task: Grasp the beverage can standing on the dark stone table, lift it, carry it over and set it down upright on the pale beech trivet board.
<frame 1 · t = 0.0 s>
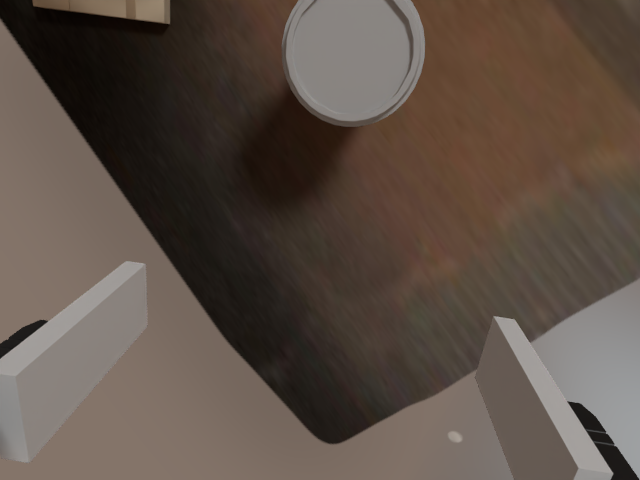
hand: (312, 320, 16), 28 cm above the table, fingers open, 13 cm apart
disposable coffee cup: (354, 60, 39), on the table
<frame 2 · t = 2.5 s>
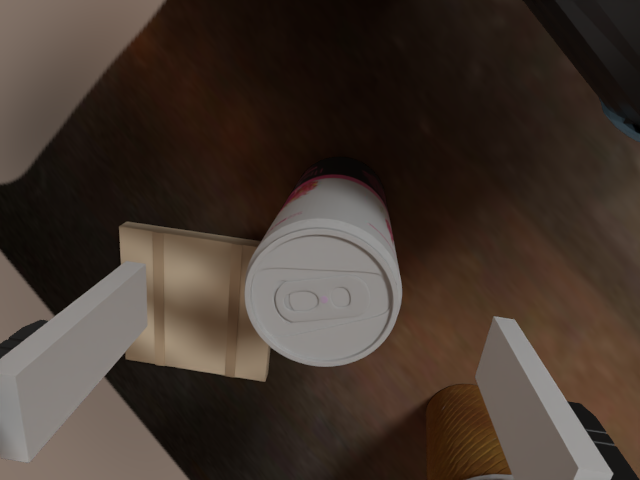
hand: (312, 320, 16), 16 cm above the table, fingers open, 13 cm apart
trivet: (201, 301, 35), on the table
disposable coffee cup: (462, 412, 37), on the table
beverage can: (339, 200, 31), on the table
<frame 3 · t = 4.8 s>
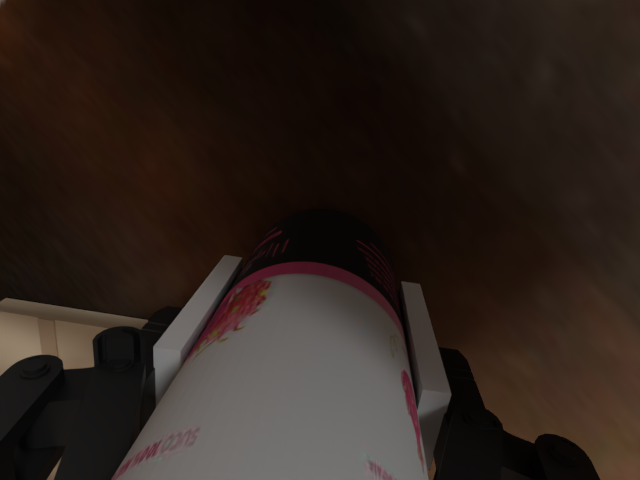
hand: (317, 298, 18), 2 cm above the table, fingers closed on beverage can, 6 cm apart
trivet: (123, 408, 24), on the table
beverage can: (322, 272, 20), on the table, touching gripper
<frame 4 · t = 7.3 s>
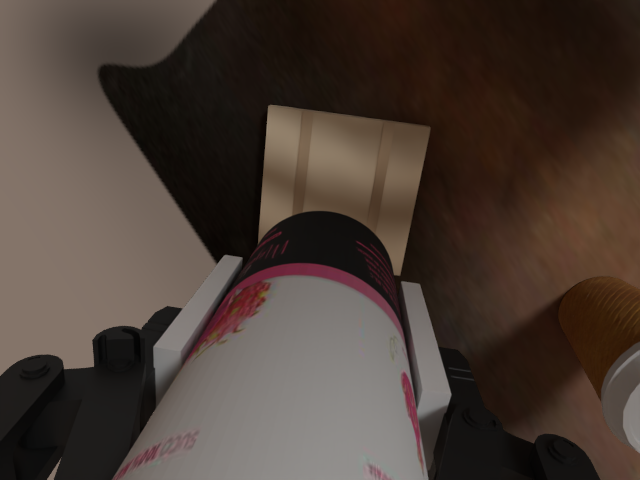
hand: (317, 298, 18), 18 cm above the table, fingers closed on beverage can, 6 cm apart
trivet: (338, 191, 35), on the table
disposable coffee cup: (595, 308, 37), on the table
beverage can: (322, 272, 20), point 16 cm above the table, touching gripper
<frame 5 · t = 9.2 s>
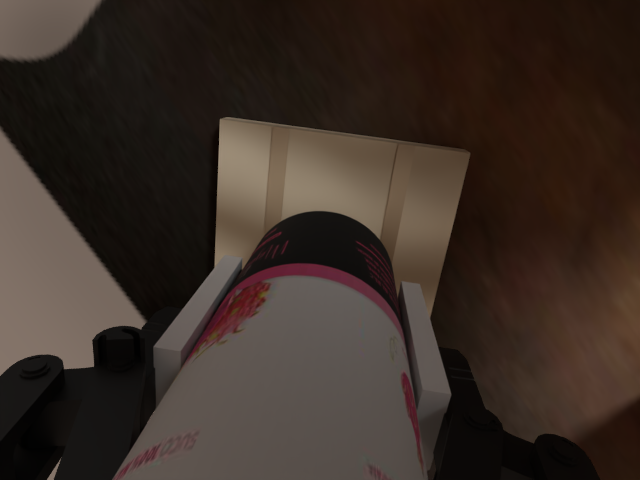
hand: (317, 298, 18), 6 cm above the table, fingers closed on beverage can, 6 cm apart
trivet: (329, 243, 24), on the table
beverage can: (322, 273, 20), point 4 cm above the table, touching gripper
when the fingers open (5 cm above the table, at t = 10.3 s): beverage can drops 1 cm, resting on trivet.
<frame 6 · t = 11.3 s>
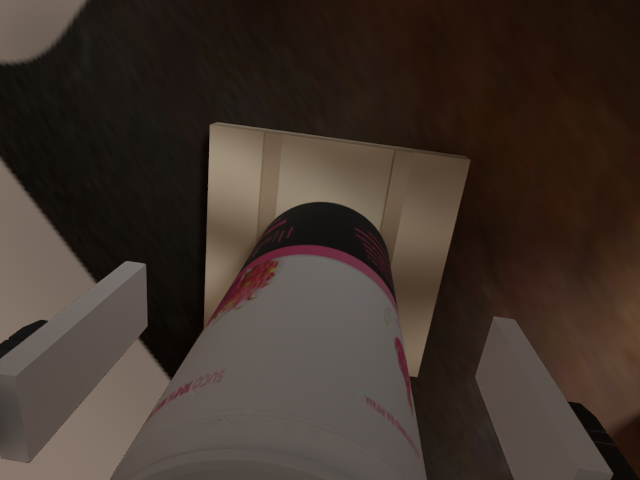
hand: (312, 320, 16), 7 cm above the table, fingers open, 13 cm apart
trivet: (324, 253, 23), on the table
beverage can: (323, 260, 22), point 1 cm above the table, touching trivet
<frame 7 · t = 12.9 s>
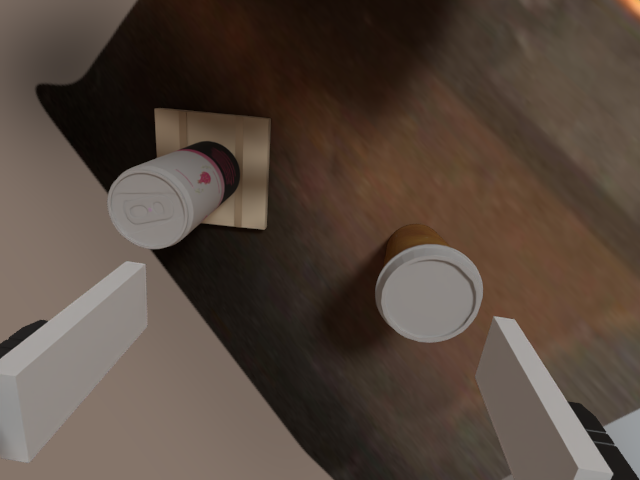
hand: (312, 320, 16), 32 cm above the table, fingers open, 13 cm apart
trivet: (215, 169, 48), on the table
disposable coffee cup: (414, 249, 49), on the table
beverage can: (212, 171, 47), point 1 cm above the table, touching trivet
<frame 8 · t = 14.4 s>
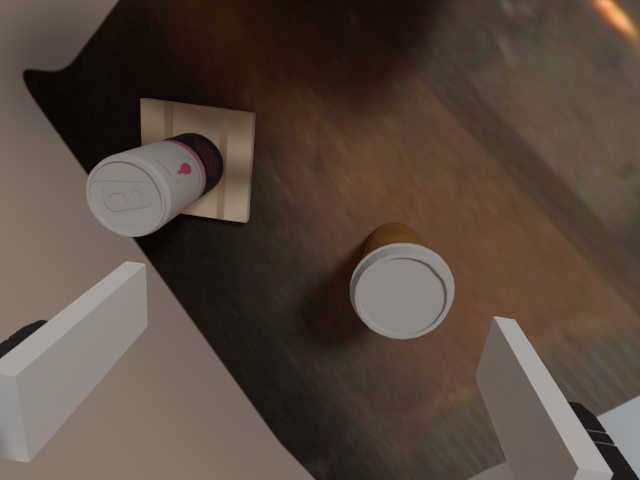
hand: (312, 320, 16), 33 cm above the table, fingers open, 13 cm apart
trivet: (199, 161, 48), on the table
disposable coffee cup: (393, 248, 50), on the table
beverage can: (195, 162, 47), point 1 cm above the table, touching trivet
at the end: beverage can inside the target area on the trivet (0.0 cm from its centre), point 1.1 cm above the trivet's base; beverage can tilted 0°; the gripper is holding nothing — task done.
